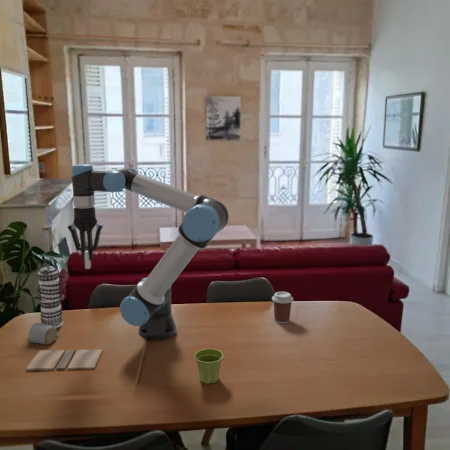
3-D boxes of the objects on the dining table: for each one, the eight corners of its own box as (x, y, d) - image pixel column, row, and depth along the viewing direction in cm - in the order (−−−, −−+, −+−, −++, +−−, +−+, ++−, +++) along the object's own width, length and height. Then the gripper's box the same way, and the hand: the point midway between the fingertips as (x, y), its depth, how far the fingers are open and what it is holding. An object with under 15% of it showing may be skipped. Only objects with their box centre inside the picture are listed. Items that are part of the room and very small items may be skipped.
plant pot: (213, 390, 142) (213, 365, 140) (189, 381, 147) (188, 357, 145) (228, 377, 150) (228, 353, 148) (205, 369, 155) (205, 346, 153)
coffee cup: (267, 321, 194) (268, 295, 192) (276, 314, 202) (277, 289, 199) (287, 326, 189) (288, 299, 187) (295, 319, 197) (296, 293, 195)
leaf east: (64, 353, 165) (64, 350, 164) (53, 372, 152) (53, 368, 152) (39, 353, 164) (39, 350, 164) (26, 372, 151) (26, 368, 151)
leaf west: (102, 352, 166) (102, 349, 165) (94, 371, 153) (94, 367, 153) (77, 353, 165) (77, 349, 165) (67, 371, 152) (67, 367, 152)
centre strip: (75, 353, 165) (74, 349, 165) (65, 372, 152) (64, 367, 152) (67, 353, 165) (67, 350, 164) (56, 372, 152) (56, 368, 152)
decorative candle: (68, 323, 192) (64, 267, 187) (49, 331, 184) (45, 272, 179) (54, 318, 197) (50, 263, 192) (36, 326, 189) (31, 269, 184)
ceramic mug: (46, 349, 169) (45, 329, 168) (28, 346, 172) (27, 327, 170) (64, 337, 179) (63, 319, 178) (46, 334, 182) (45, 316, 180)
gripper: (104, 204, 171) (107, 264, 175) (69, 205, 170) (73, 265, 174) (100, 208, 163) (103, 270, 168) (63, 208, 162) (67, 271, 167)
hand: (88, 267), depth 171 cm, fingers closed
